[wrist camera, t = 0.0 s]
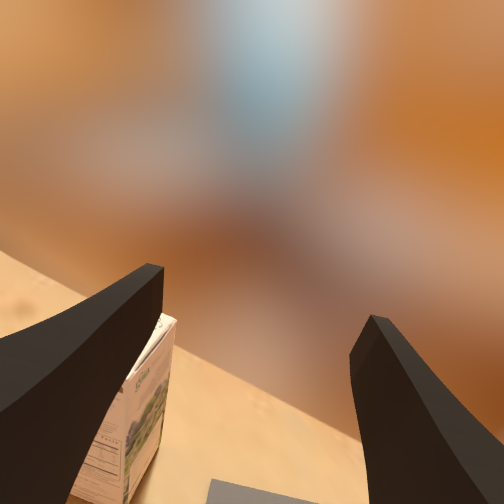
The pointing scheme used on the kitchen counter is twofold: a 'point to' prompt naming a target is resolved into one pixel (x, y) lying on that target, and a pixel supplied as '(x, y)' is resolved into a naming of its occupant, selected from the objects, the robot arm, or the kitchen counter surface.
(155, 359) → the syrup box
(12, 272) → the kitchen counter surface
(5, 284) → the kitchen counter surface
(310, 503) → the mat
